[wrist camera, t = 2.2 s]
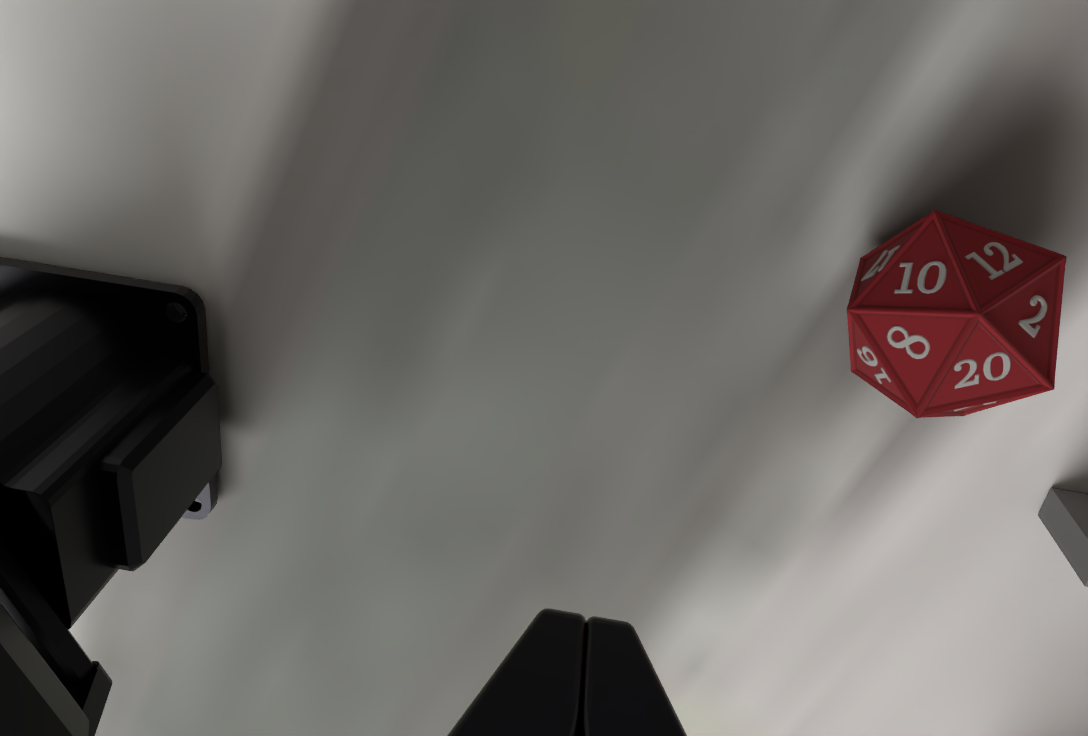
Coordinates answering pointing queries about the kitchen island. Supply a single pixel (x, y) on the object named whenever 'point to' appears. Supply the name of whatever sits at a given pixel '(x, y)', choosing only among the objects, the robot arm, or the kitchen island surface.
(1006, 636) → the kitchen island surface
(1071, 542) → the dice pen
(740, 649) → the kitchen island surface
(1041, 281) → the dice
